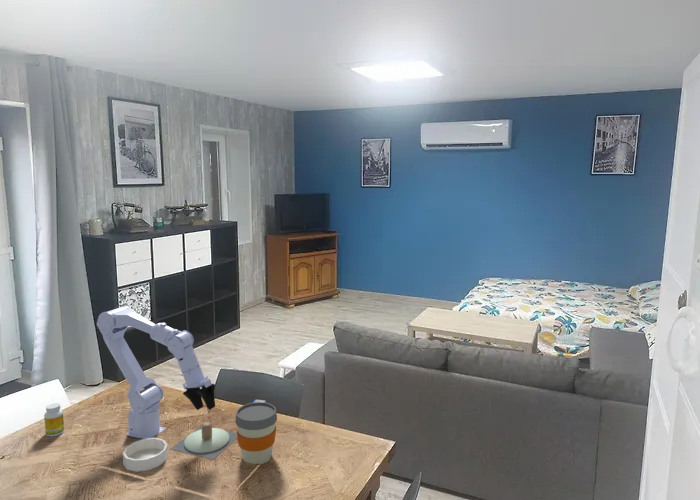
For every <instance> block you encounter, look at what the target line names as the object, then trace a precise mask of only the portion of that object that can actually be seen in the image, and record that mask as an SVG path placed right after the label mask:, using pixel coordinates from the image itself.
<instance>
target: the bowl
mask: <svg viewBox="0 0 700 500" xmlns="http://www.w3.org/2000/svg"><path fill="white" fill-rule="evenodd" d="M168 456H169V449H168V443H167V442H166V440H165V439H161V438H157V437H153V438H146V439H143V438H141V439H140V440H136V441H133V442H132V443H130V444H128V445H127V446H126V447H125V448H124V450H123V451H122V463H123V466H124V468H125V469H126V470H128V471H132V472H145V471H149V470H153V469H155V468H158V467H160V466H161V465H162V464H163V463H165V462H166V461H167V459H168Z"/></svg>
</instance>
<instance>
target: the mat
mask: <svg viewBox="0 0 700 500" xmlns="http://www.w3.org/2000/svg"><path fill="white" fill-rule="evenodd" d="M212 428H214V426H212ZM201 429H202V426H201V425H200V426H199V427H197V428H196V429H195V430H193V431H192V432H191V433H193V432H195V431H198V430H201ZM225 431H226V432H228V434H229V442H228V443H227V445H226V446H224V447H223V448H221V449H219V450H217V451H214V452H210V453H193V452H190V451H188V450H187V449H186V448H185V446H184V441H185V439H186V437H187V436H189V435H190V434H191V433H189V434H188V435H187V436H185V437H184V438H183V439H181V440H180V441H178V442H177V443H175V445H174V446H172V447H171V448H170V451H171V450H172V451H175V452H180V453H183V454H188V455H191V456H195V457H199V458H204V459H208V460H212V461H213V460H215V459H216V458H217V457H218V456H219V455H220V454H222V452H224V451H225V450H227V448H228V447H229V446H230V445H232V443H234V442H235V441H236V440H238V438H237V432H234V431H229V430H226V429H225Z"/></svg>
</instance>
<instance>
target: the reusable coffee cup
mask: <svg viewBox="0 0 700 500" xmlns="http://www.w3.org/2000/svg"><path fill="white" fill-rule="evenodd" d="M253 402H254V401H253ZM253 402H250V403H246V404H244V405H242V406H240V407H239V408H238V409H237V410H236V412H235V419H234V420H235V421H234V422H235V425H236V427H237V428H236V432H235V433H237V442H238V443H237V444H238V446H239V448H240V454H241V459H242V460H243V461H244V462H245V463H248V464H255V465H256V464H258V465H260V466H261V465H263V464H266V463H267V462H269V461H270V460H271V459H272V454H273V448H274V447H273V445H274V444H275V441H276V440H275V439H276V432H277V425H276V422H277V421H278V414H277V408H276V407H275V405H273V404H271V403H270V402H266V403H264V402H254V403H253Z"/></svg>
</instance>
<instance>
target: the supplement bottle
mask: <svg viewBox="0 0 700 500" xmlns="http://www.w3.org/2000/svg"><path fill="white" fill-rule="evenodd" d="M45 411H46V412H45V413H44V415H43V418H44V419H43V420H44V432H45V435H46V436H47V437H57V436H59V435H61V434H63V433H64V432H65V424H64V423H65V422H64V410H63V409H61V404H60V403H59V402H53V403H50V404H48V405H46V407H45Z"/></svg>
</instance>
